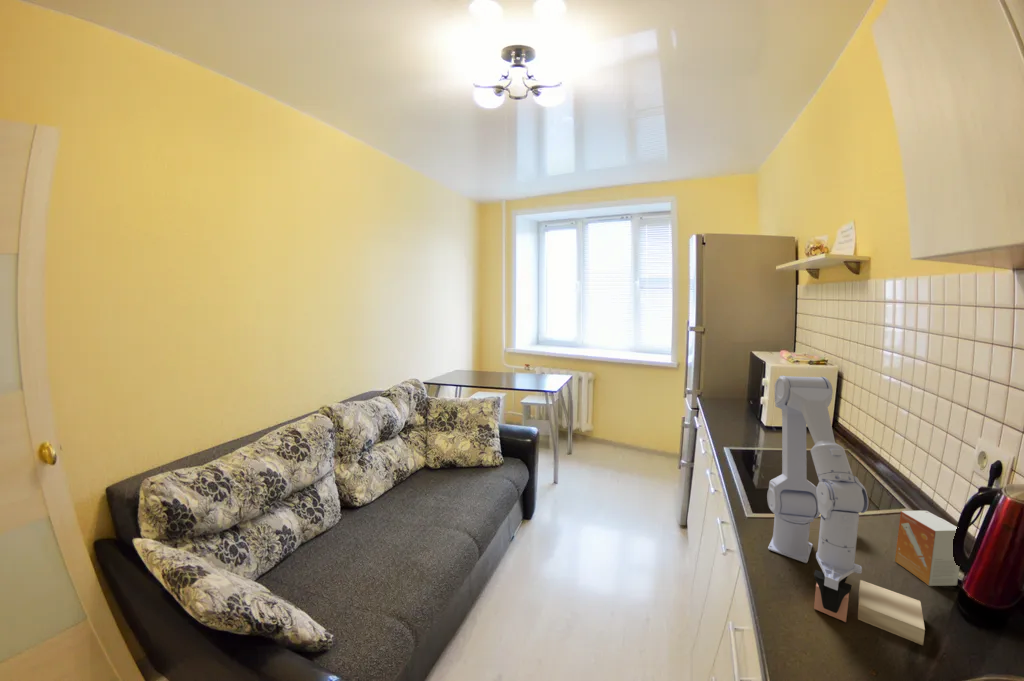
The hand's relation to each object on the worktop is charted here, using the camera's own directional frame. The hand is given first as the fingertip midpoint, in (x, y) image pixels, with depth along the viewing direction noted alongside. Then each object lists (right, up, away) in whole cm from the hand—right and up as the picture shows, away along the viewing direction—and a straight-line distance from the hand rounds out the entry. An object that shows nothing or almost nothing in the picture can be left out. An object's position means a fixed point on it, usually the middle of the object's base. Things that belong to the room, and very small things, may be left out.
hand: (831, 601), depth 81 cm
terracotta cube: (0, -1, 0) cm, 1 cm away
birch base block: (+10, -2, -2) cm, 10 cm away
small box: (+29, 0, +10) cm, 31 cm away
